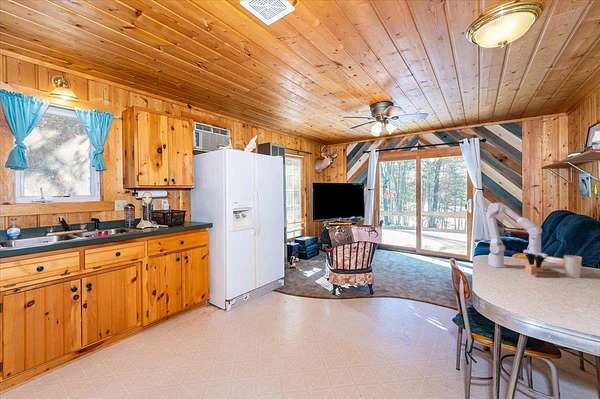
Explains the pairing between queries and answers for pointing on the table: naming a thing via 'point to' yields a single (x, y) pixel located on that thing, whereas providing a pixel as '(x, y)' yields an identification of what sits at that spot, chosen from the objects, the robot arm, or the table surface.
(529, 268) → the block
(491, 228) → the robot arm
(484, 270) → the table surface
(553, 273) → the wooden l-shaped bracket
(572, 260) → the cup
